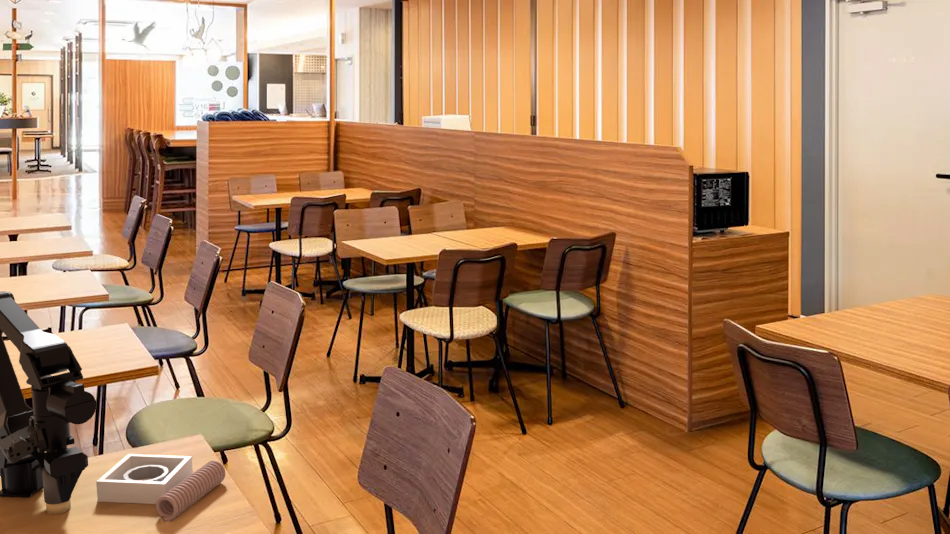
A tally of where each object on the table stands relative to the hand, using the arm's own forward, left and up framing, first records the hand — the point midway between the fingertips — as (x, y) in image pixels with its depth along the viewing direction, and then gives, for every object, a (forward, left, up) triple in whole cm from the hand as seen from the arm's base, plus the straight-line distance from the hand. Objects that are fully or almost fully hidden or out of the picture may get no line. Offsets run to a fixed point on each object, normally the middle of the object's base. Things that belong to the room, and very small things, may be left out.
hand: (57, 492), depth 154 cm
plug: (0, 0, -3) cm, 3 cm away
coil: (+23, +6, -4) cm, 24 cm away
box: (+12, +10, -3) cm, 16 cm away
